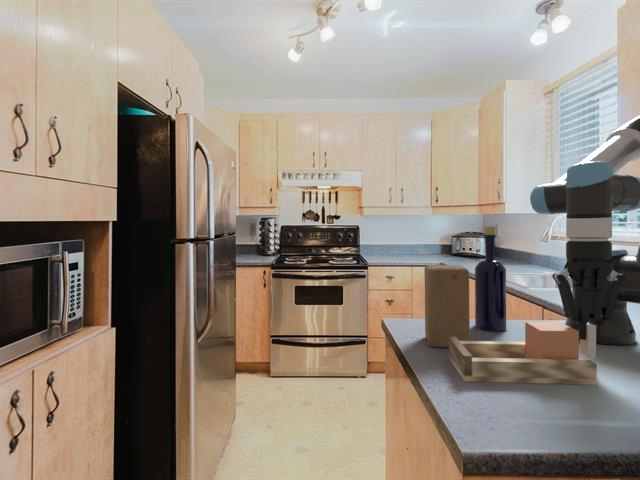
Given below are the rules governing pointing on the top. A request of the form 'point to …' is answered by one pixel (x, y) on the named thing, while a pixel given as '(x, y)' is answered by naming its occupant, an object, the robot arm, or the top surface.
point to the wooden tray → (515, 364)
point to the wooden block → (446, 304)
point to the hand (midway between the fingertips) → (587, 354)
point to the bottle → (490, 289)
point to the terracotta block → (551, 341)
